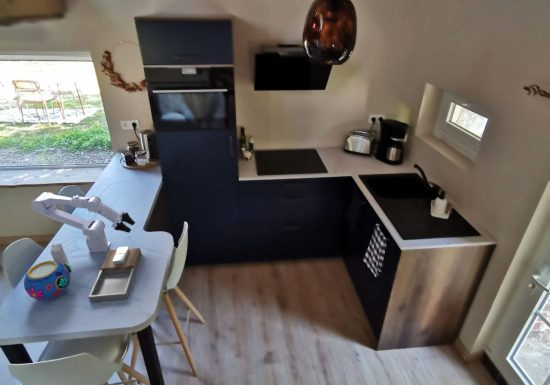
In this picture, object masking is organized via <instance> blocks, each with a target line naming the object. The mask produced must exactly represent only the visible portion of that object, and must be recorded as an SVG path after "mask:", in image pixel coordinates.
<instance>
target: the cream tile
mask: <svg viewBox="0 0 550 385" xmlns="http://www.w3.org/2000/svg"><path fill="white" fill-rule="evenodd" d="M129 249H130V247H129V246H119V247H118V248H117V249H116V250H117V252H116V255H117V254H126V256H127V254H128V251H129Z"/></svg>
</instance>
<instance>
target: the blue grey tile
mask: <svg viewBox="0 0 550 385" xmlns="http://www.w3.org/2000/svg"><path fill="white" fill-rule="evenodd" d="M125 259H126V254H117V255H115V257H114V259H113V264H121V263H124V262H125Z"/></svg>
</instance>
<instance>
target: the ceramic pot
mask: <svg viewBox="0 0 550 385" xmlns="http://www.w3.org/2000/svg"><path fill="white" fill-rule="evenodd" d="M71 273H72V266H70V264H69V263H68V264H61V263H59V262H56V261H54V260H46V261H41V262H39V263H37V264H35V265H33V266H32V267H30V268H29V270H28V271H27V273H26V274H25V275H24V279H23V284H24V285H23V287H24V291H25V292H26V293H27V294H28V296H30V297H31V298H32V299H35V300H38V301H42V302H44V301H51V300H53V299H56V298H58V297H60V296H61V295H62V294H64V293H65V292H66V290H67V289H68V287H69V285H70V283H71Z"/></svg>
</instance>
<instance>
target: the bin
mask: <svg viewBox="0 0 550 385" xmlns="http://www.w3.org/2000/svg"><path fill="white" fill-rule="evenodd" d="M136 272H137V270H136V271H135V269H134V268H132V269H127V270H115V271H103V272H102V270H101V269H100V270H99V272H98V274H97V278H96V279H95V281H94V284H93V285H92V288H91V290H90V293H89V295H88V299H89V302H90V303H98V302H99V303H100V302H108V301H110V302H111V301H121V300H128V297H129V294H130V291H131V287H132V285H131V284H133V282H132V281H134V279H133V278H135V274H136Z"/></svg>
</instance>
